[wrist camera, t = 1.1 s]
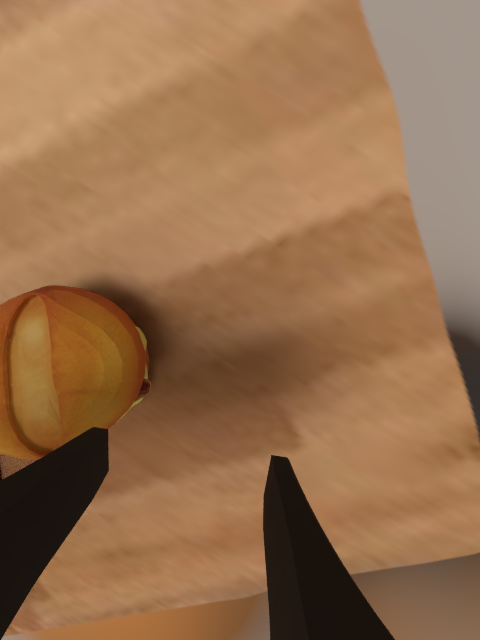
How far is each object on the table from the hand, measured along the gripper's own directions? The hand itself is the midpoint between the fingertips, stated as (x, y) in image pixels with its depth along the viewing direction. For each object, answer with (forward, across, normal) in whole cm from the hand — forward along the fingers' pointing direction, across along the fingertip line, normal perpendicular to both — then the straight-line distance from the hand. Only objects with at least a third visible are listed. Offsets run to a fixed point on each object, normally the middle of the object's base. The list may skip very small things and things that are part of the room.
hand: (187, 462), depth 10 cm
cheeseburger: (+10, +10, 0) cm, 14 cm away
